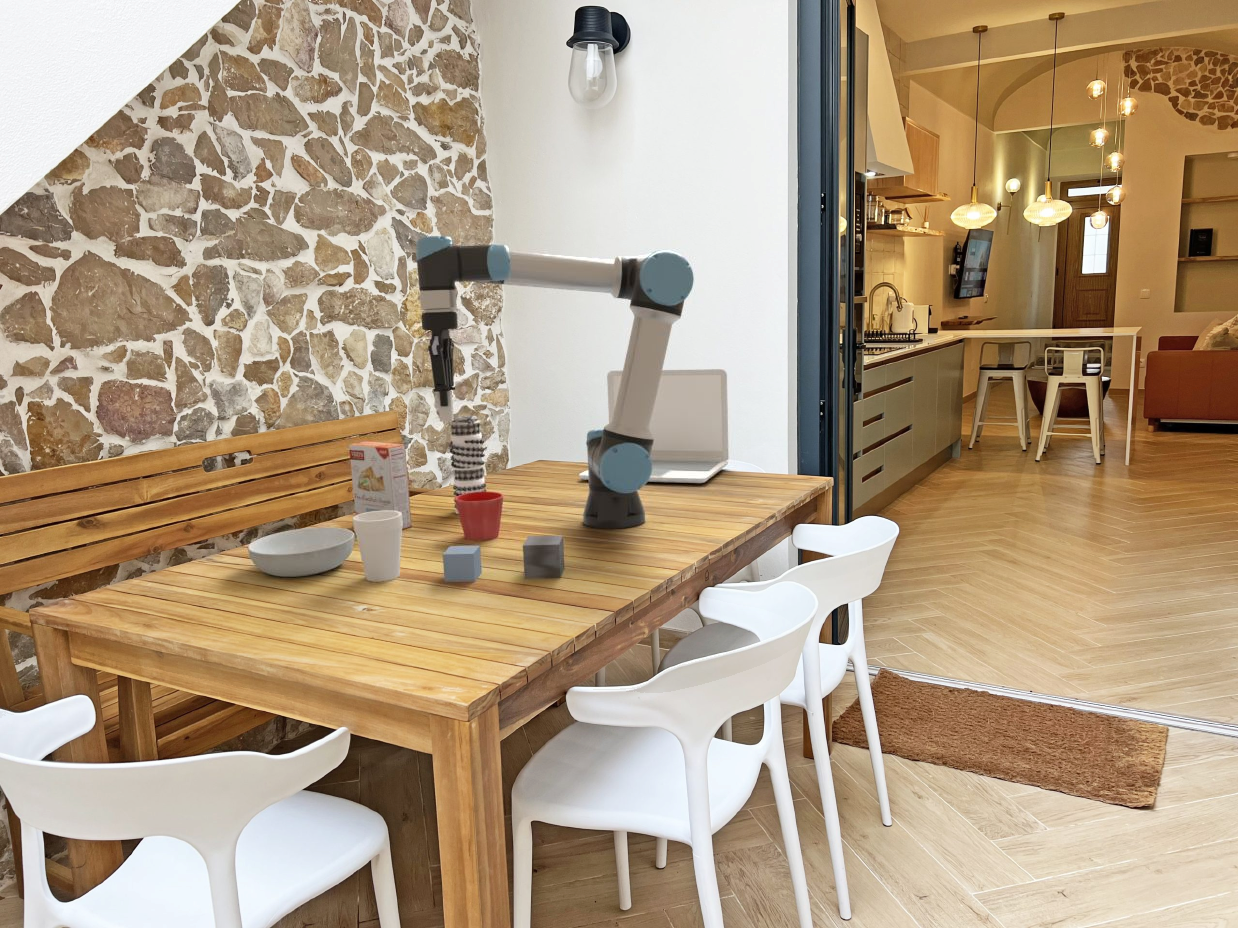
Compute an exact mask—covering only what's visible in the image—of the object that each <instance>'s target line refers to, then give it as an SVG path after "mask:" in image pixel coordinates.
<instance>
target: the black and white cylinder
mask: <svg viewBox="0 0 1238 928" xmlns="http://www.w3.org/2000/svg"><path fill="white" fill-rule="evenodd" d="M481 423H482V421H481V420H479V419H478V417H477V416H476V415H472V414H471V415H469V414H468V415H465V414H464V415H457V416H454V421H450V422H449V425H450V431H451V434H450V440H451V441H450V442H449V443H448V445H449V453H450V454H451V456H450V460H451V464H450V466H451V469H452V470H453V471H454V472H453V475H454V479H453V486H452V489H453V490H454V492H453V495H454V496H455V497H454V499H453V502H454V506H453V507H454V509H455V511H454V513H456V514H457V515H459V514H458V510H457V505H456V501H455V498H456V497H457V496H459V495H462V494H466V493H472V492H487V489H486V487H487V483H485V476H484V475H485V474H484V467H485V464H486V463H485V461H483V458H485V456H486V455H485V453H483V452H484V451H485V450H486V449H485V447H483V446H482V445H483V444H485V440H484V439H483V438H484V436H482V432H481Z"/></svg>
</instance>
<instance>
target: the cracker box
mask: <svg viewBox="0 0 1238 928" xmlns="http://www.w3.org/2000/svg"><path fill="white" fill-rule="evenodd" d="M348 446H349V447H348V448H349V450H348V451H349V459H350V460H349V461H350V467H351V469H350V470H351V479H352V480H351V481H352V489H353V500H354V501H353V502H354V512H355V516H356V515H358V514H362V513H366V512H372V511H384V510H390V511H398V512H401V513H402V519H403V526H402V531H403V530H406V529H409V528H411V527H413V526H412V525H413V523H412V514H411V513H412V512H411V500H410V489H409V487H410V486H409V477H408V475H409V474H408V465H407V453H406V452H407V451H406V444H402V443H388V442H380V441H379V442H378V441H368V440H367V441H361V442H354V443H350V444H349V445H348Z"/></svg>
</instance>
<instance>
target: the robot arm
mask: <svg viewBox="0 0 1238 928" xmlns="http://www.w3.org/2000/svg"><path fill="white" fill-rule="evenodd" d="M416 264H417V265H416V266H417V275H418V276H417V277H418V279H417V280H418V287H419V289H418V290H419V296H417V300H418V301H420V309H421V310H422V311H423V312H422V313H421V315H420V317H421V318H420V319H421V328H422V330H423V331H430V332H431V337H430V339H429V345H428V347H427V349H428V352H429V356H430V363H431V364H430V365H431V371H432V378H433V379H432V380H433V385H434V388H433V390H432V391H433V392H434V393H437V399H438V401H437V402H438V414H439V422H440V423H441V422H445V423H446V422H452V421H454V417H455V416H454V405H453V404H454V403H453V402H454V401H453V393H452V392H453V391H455V390H456V386H454V385H455V381H454V379H455V378H454V377H455V376H454V375H455V374H454V348H455V344H454V342H453V338H452V337H451V336H450V335H451V334H450V331H449V330H457V329H458V327H459V324H458V323H459V322H458V313H457V312H456V311H455V309H457V308H458V307H457V306H458V305H457V296H456V295H457V293H456V282H457V283H458V282H459V283H461V282H464V283H465V282H473V283H475V284H480V285H482V284H483V285H485V284H492V285H503V286H504V285H506V286H518V287H519V286H520V287H530V288H532V287H533V288H540V289H541V288H543V289H553V290H554V289H555V290H556V289H557V290H566V291H567V290H569V291H581V292H582V291H583V292H589V293H590V292H592V293H593V292H594V293H603V294H610V295H612V297H613V298H614V299H621V300H622V299H623V300H628V301H629V300H630V304H629V309H630V310H631V312H632V313H633V316H634V318H633V322H632V327H631V332H630V336H629V341H628V346H627V351H626V354H625V358H624V359H625V360H624V365H623V369H622V371H623V373H622V378H621V382H620V387H619V392H618V396H617V401H616V406H615V410H614V415H613V420H612V421H611V423H609V422H608V424H606V425H605V426H603V429H591V430H589V431H588V432H587V434H586V442H585V445H586V448H587V453H586V454H587V470H588V476H589V480H588V495H587V499H586V502H585V506H584V511H583V512H582V513H583V514H582V519H583V520H582V522H583V524H584V525H585V526H587V527H590V528H595V529H607V530H608V529H610V530H611V529H612V530H613V529H625V528H632V527H636V526H639V525H642V524H644V523H645V521H646V511H645V509H644V506H643V503H642V499H641V497H640V495H639V492H638V491H639V490H640V489H642V488H643V487H644V486H645V485H646V484H648V480H649V478H650V476H651V473H652V459H651V457H650V455H651V451H652V446H653V441H654V436H653V435H652V433H651V431H650V429H649V428H650V423H651V419H652V414H653V410H654V405H655V401H656V396H657V391H658V387H659V382H660V378H661V373H662V370H664V369H663V368H664V363H665V359H666V354H667V351H668V350H667V349H668V345H669V341H670V340H669V339H670V338H671V337H670V336H671V331H672V327H673V324H674V323H676V322H677V321H679V320H680V319H681V317H682V312H683V308H684V304H685V300H686V299H687V298H688V297H689V296H690V293H691V292H692V289H693V286H694V280H695V279H694V271H693V269H692V266H691V264H690V263H689V261H688V260H687V258H685V257H684V256H683V255H681V254H679V253H677V252H675V251H672V250H663V249H661V250H656V251H653V252H651V253H648V254H644V255H638V256H637V255H636V256H618V255H617V256H616V257H615V258H614V259H602V258H601V259H600V258H592V257H590V258H588V257H576V256H569V255H568V256H567V255H566V256H565V255H555V254H543V253H542V254H541V253H531V252H520V251H510V249H509V247H508V245H505V244H494V243H491V244H481V245H480V244H479V245H478V244H477V245H454V243H453V240H452V238H451V237H450V236H447V235H446V236H445V235H440V236H439V235H431V236H429V235H428V236H421V237H420V238H418V240H417V241H416Z"/></svg>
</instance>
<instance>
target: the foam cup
mask: <svg viewBox="0 0 1238 928" xmlns="http://www.w3.org/2000/svg"><path fill="white" fill-rule="evenodd" d="M352 525H353V531H354V532H355V536H356V540H357V544H358V549H359V553H360V557H361V562H362V566H363V570H364V576H365V579H366V581H369V582H371V581H372V582H373V583H379V582H380V583H381V582H382V581H384V582H388V581H389V580H390V581H394V580H396V579H398V578H399V577H400V575H401V552H402V533H403V530H402V526H403V519H402V513H401V512H398V511H390V510H384V511H372V512H366V513H362V514H358V515H356V514H355V515H354V516H352ZM398 576H399V577H398ZM397 577H398V578H397ZM382 583H383V582H382Z"/></svg>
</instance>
